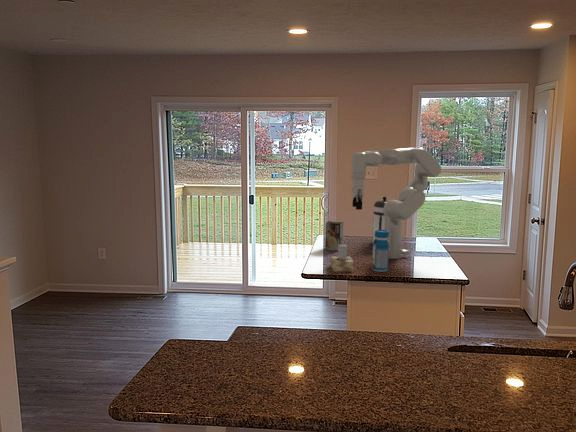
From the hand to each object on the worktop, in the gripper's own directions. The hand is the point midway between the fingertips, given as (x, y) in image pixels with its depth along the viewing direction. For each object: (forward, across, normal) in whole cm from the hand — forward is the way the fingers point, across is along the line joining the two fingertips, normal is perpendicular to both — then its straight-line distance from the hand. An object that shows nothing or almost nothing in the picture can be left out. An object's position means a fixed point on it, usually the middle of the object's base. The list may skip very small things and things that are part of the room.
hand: (357, 208), depth 269 cm
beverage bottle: (+28, +20, +9) cm, 36 cm away
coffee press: (+28, -38, +23) cm, 53 cm away
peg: (+28, +18, -10) cm, 35 cm away
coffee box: (+28, -25, -8) cm, 39 cm away
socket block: (+28, +18, -10) cm, 35 cm away
